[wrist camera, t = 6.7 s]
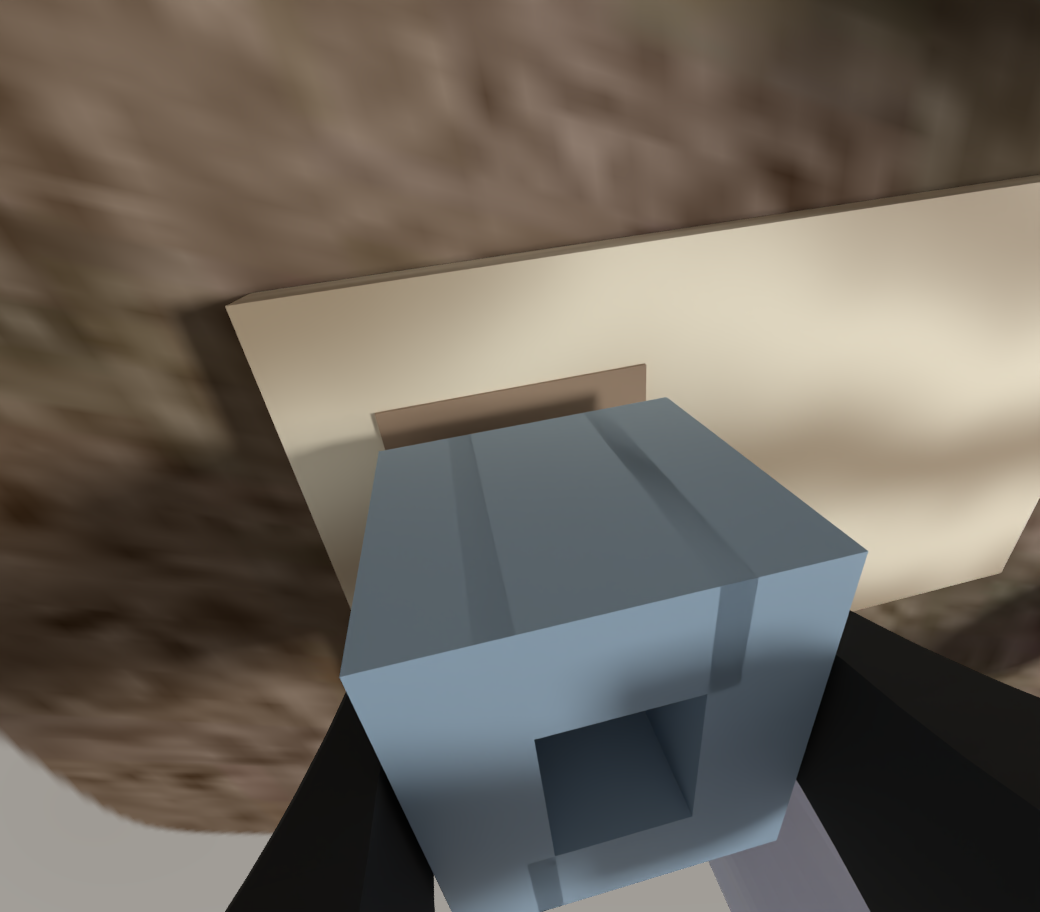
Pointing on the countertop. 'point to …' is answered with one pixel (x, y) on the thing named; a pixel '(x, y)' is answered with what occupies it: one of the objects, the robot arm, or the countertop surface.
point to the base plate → (707, 365)
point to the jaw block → (590, 650)
